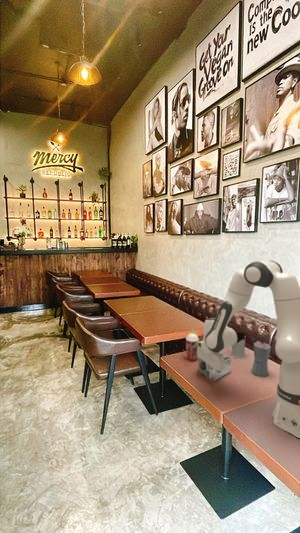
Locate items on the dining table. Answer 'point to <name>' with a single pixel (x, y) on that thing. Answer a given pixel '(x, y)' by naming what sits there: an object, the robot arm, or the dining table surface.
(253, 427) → the dining table surface
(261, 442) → the dining table surface
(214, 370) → the side door
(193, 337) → the smoothie
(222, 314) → the robot arm
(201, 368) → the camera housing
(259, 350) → the moka pot
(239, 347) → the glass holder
